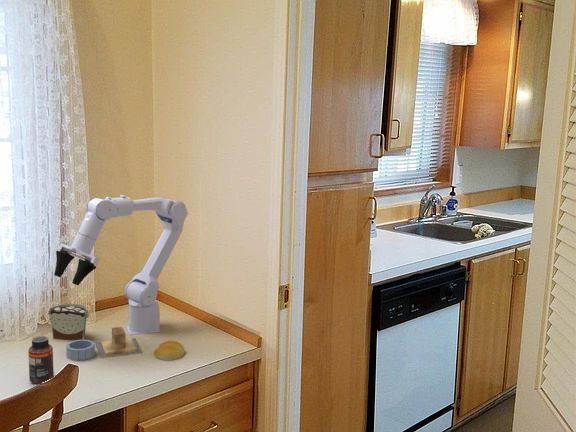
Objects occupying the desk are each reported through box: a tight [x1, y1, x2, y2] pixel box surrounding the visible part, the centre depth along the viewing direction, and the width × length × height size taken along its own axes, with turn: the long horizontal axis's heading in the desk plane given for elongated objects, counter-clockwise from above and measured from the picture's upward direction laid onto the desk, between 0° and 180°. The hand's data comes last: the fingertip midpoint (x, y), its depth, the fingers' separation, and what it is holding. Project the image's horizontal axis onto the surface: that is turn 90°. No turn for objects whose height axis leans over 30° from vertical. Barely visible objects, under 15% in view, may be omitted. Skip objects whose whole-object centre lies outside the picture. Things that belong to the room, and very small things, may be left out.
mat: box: [94, 337, 144, 359], centre depth 181 cm, size 12×12×1 cm
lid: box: [100, 326, 137, 355], centre depth 180 cm, size 9×9×5 cm
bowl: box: [65, 338, 96, 362], centre depth 174 cm, size 8×8×4 cm
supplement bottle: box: [27, 335, 55, 385], centre depth 158 cm, size 6×6×11 cm
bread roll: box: [153, 340, 185, 361], centre depth 178 cm, size 8×9×4 cm
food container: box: [47, 303, 90, 341], centre depth 187 cm, size 12×6×10 cm, turn 84°
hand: (66, 280), depth 174 cm, fingers open, 7 cm apart
